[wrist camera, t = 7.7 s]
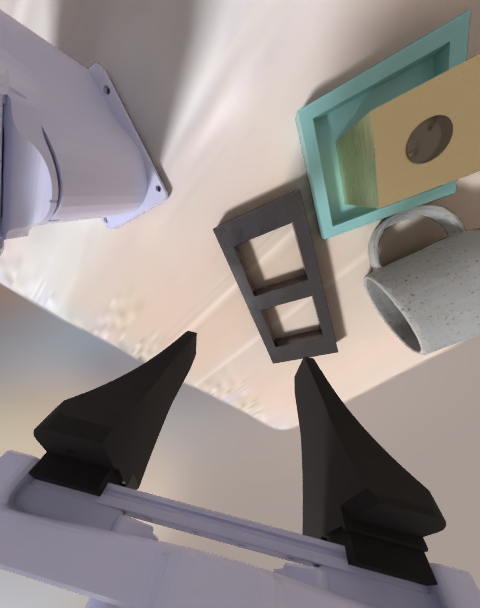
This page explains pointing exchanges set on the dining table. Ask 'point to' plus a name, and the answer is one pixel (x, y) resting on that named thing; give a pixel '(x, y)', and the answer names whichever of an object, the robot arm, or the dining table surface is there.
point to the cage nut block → (414, 140)
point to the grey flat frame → (284, 292)
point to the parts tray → (357, 104)
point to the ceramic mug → (429, 284)
